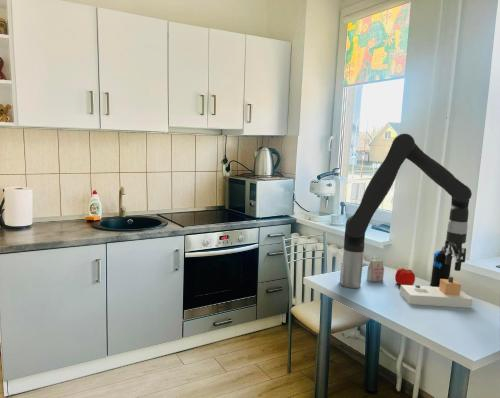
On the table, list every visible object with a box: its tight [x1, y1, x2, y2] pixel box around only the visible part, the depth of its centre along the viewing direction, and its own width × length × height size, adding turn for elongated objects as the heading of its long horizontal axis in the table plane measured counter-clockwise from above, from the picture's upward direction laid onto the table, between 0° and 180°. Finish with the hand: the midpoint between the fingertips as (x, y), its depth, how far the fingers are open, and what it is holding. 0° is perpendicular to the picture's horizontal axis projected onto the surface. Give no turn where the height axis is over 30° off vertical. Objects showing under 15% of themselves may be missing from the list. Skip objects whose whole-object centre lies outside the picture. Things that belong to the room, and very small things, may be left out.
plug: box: [439, 276, 462, 295], centre depth 172 cm, size 6×6×9 cm
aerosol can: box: [429, 245, 453, 287], centre depth 189 cm, size 8×8×20 cm
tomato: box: [394, 267, 416, 286], centre depth 190 cm, size 9×9×8 cm
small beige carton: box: [366, 259, 385, 283], centre depth 194 cm, size 4×7×10 cm, turn 107°
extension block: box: [399, 284, 473, 309], centre depth 173 cm, size 26×12×5 cm, turn 88°
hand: (452, 267), depth 170 cm, fingers open, 8 cm apart
